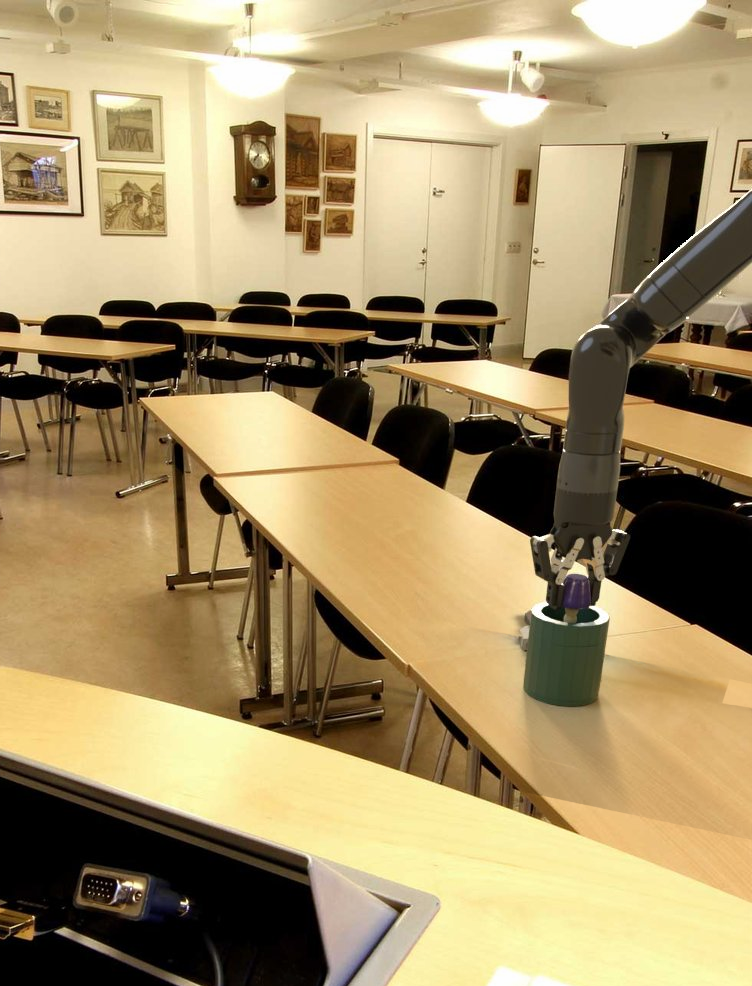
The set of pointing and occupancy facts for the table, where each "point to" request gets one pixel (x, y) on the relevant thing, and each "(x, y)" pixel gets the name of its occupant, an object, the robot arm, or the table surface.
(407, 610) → the table surface
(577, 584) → the toy lamp
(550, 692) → the green cylindrical cup
